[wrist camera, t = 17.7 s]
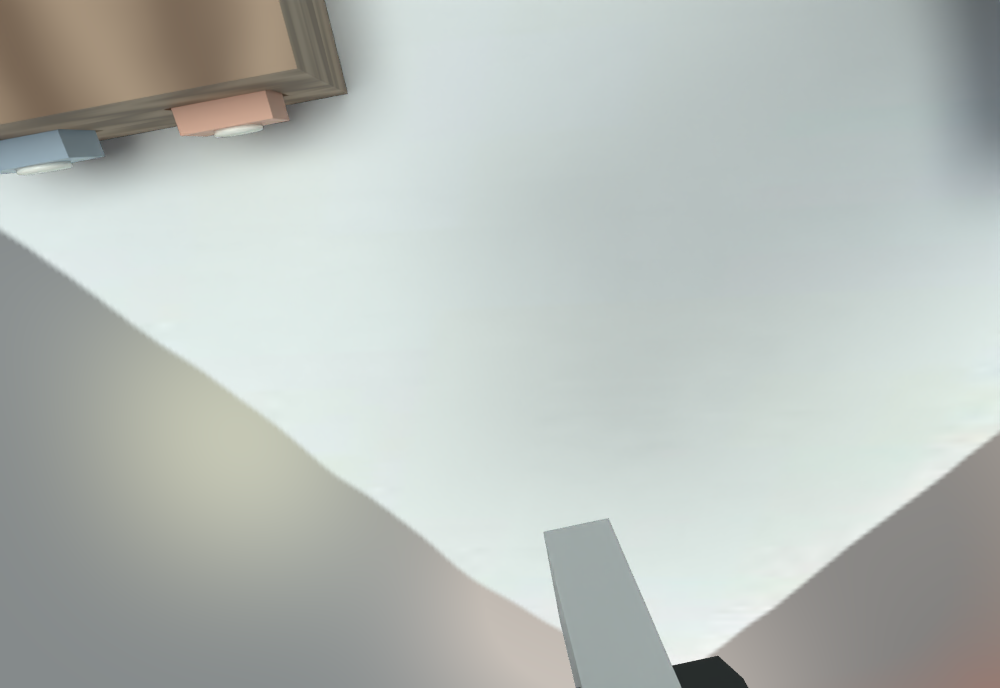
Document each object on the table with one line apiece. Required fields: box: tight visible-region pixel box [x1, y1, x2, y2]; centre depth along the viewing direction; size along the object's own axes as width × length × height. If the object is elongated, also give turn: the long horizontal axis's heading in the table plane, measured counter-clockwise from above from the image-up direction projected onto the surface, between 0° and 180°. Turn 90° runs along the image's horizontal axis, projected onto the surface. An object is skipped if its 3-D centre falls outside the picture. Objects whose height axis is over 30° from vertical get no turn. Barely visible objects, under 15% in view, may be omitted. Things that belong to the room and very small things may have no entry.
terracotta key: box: [171, 90, 290, 138], centre depth 32 cm, size 5×6×4 cm
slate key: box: [0, 129, 105, 176], centre depth 32 cm, size 5×6×4 cm
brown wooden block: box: [0, 0, 348, 141], centre depth 31 cm, size 22×8×14 cm, turn 100°
